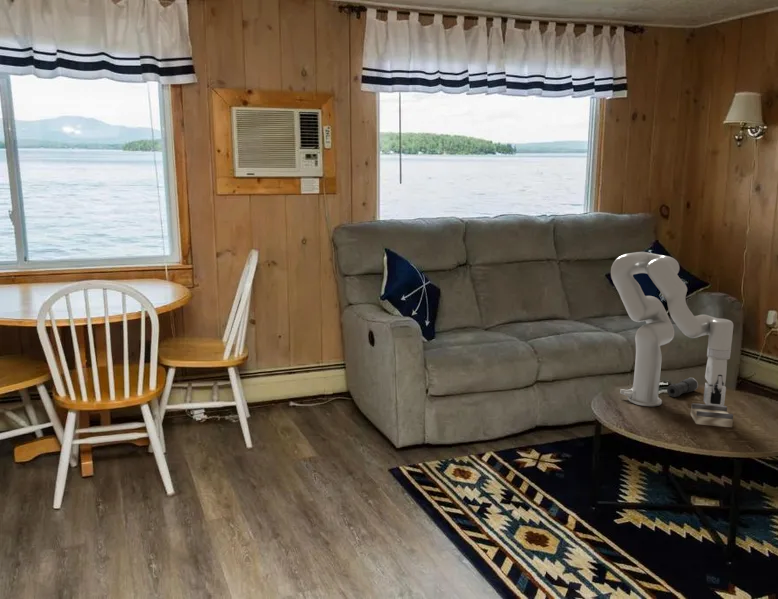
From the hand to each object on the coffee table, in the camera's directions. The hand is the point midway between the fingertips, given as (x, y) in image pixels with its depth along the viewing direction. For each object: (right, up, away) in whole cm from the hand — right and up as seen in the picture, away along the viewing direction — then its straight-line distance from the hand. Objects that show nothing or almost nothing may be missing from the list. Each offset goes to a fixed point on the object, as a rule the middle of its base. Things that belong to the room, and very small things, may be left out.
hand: (713, 400), depth 247 cm
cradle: (0, -7, +2) cm, 8 cm away
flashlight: (+2, -2, +32) cm, 32 cm away
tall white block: (0, -1, 0) cm, 1 cm away
